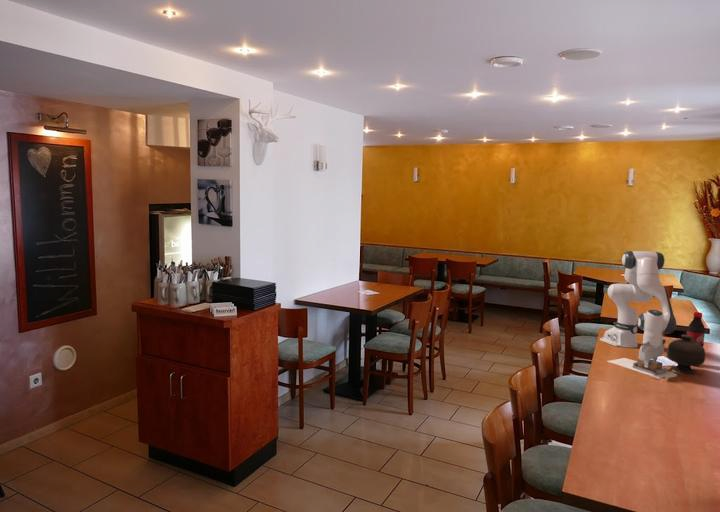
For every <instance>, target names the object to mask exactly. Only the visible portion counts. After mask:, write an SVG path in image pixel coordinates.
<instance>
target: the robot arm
mask: <svg viewBox="0 0 720 512" xmlns="http://www.w3.org/2000/svg"><path fill="white" fill-rule="evenodd" d="M621 262H622V266H623V267H624V268H625V271H624V273H623V274H624V275H623V277H624V280H625V281H626V282H627V283H612V284H610V285H609V286H608V288H607V296H608V297H609V299H610V300H612V301H613V303H615V305H616V307H617V321H614V322H613V325H614V326H613V327H611V328H609V329H607V330H605V332H604V335H603V336H602V337H600V338H599V341H600V342H604V343H606V344H609V345H612V346H615V347H618V348H619V347H621V348H633V349H634V348H638V341H637V340H638V339H637V332H638V328H639V329H640V330H642V331H643V335H642V336H643V337H642V345H640V347H639V350H638V352H639V353H638V359H639V360H642V361H644V367H646V368H648V367H649V363H648V362H649V360H650V359H651V360H654V361H657V360H658V357H659V358H660V357H662V356H663V355H664V352H665V345H666V342H667V340H666V338H663V334H667V335H671V334H672V333H674V331H676V330H677V327H678V326H677V321H676V320H677V319H676V316H675V314H674V311H673V306H672V303H671V300H670V299H671V298H670V295H669V292H668V289H667V287H666V286H664V285H663V284H662V282H661V280H660V275H659V274H660V273H659V270H661V269H663V267H664V266H665V262H666V260H665V255H664V254H663V253H662V252H658V251H655V252H654V251H649V250H628V251H624V252H623V255H622V258H621ZM653 297H655V298H657V299H658V300H659V302H660V307H661V311H660V310H657V309H648V310H647V311H646V312H644V313H641V314H639V313H638V311H637V309H635V307H633V306H630V304H629V303H631V302H633V303H648V302H651V300H652V299H653Z"/></svg>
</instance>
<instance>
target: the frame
mask: <svg viewBox="0 0 720 512" xmlns="http://www.w3.org/2000/svg"><path fill="white" fill-rule="evenodd" d="M637 362H638V367H641V368H644V369H648V370H651V371H655V372H656V370H659V369H663V362H661V361H657V360H656V361H654V360H652V359H650V360H649V362H648V363H649V367H648V368H646V367H644V361H642V360H639V358H638V360H637Z"/></svg>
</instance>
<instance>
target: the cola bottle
mask: <svg viewBox="0 0 720 512" xmlns="http://www.w3.org/2000/svg"><path fill="white" fill-rule="evenodd" d="M702 318H703V313H702V312H698V311H694V312H693V318H692V321H691V322H690V323H689V325H688V326H687V332H686V333H687V334H686V335H690V336H693V338H692V339H691V340H692V341H695V342H697V343H699V344H700V345H701V346H702V347H703V348H704V345H705V334H706V327H705V325H704V323H703V319H702ZM698 366H700V365H696V366H695V367H698Z"/></svg>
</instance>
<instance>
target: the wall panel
mask: <svg viewBox="0 0 720 512" xmlns="http://www.w3.org/2000/svg"><path fill="white" fill-rule="evenodd" d="M607 362H608V363H611V364H614V365H616V366H617V365H618V366H620V367H622V368H625V369H629V370H632V371H635V372H637V373H638V372H639V373H641V374H645V375H647V376H650V377H651V379H653V380H656V381H660V379H661V378H663V379H664V380H666V379H671V378H676V377H677V376H678V374H677V373H675V372H671V371H668V368H666V367H665V368H664V367H663V368H662V369H659V370H656V372H655V371H651V370H648V369H644V368H641V367H638V360H633V359H630V358H627V357H621V358H616V359H611V360H607Z"/></svg>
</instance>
